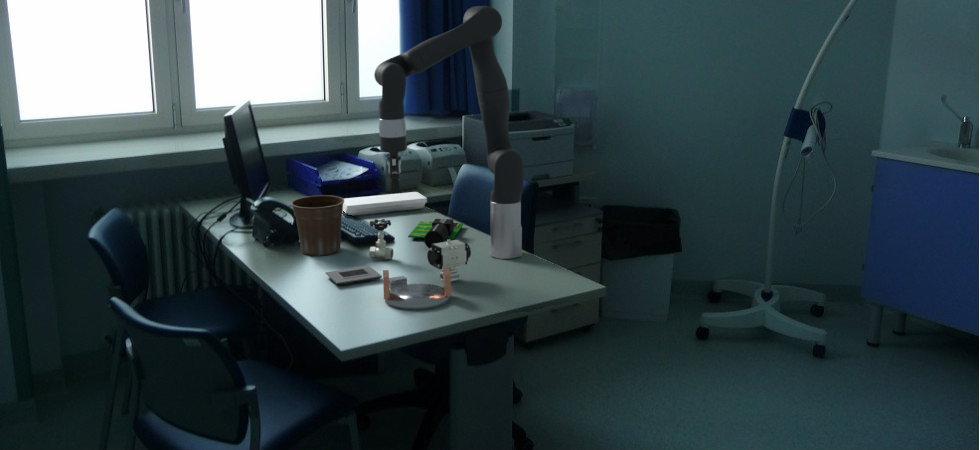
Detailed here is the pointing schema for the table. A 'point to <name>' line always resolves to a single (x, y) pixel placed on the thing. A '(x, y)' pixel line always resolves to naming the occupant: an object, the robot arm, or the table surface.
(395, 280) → the grey rectangular block
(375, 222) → the valve
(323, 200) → the plant pot
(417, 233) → the circuit board with cylinder
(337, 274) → the electrical outlet
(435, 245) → the pneumatic valve
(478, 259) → the table surface
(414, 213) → the table surface
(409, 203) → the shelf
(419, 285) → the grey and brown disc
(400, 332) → the table surface
